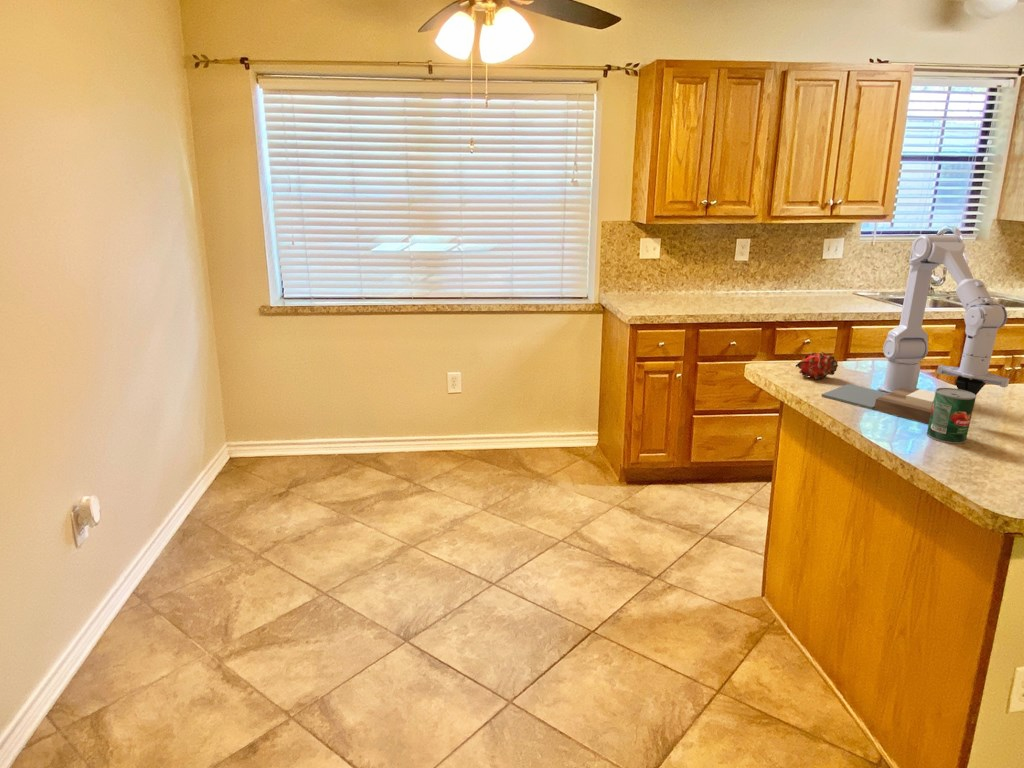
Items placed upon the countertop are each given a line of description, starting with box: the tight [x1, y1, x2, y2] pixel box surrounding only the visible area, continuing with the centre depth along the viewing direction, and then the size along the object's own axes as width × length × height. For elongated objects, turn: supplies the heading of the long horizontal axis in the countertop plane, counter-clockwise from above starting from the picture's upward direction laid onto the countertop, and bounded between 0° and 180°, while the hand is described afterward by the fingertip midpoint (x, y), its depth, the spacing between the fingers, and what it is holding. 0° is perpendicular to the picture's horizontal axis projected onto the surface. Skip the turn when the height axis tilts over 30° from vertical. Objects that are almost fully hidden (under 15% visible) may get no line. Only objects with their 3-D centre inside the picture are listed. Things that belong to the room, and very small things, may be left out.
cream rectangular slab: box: [905, 388, 936, 409], centre depth 171 cm, size 9×6×2 cm, turn 130°
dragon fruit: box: [795, 351, 839, 380], centre depth 201 cm, size 8×8×12 cm
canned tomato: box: [926, 387, 977, 445], centre depth 155 cm, size 8×8×11 cm
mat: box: [821, 383, 889, 410], centre depth 184 cm, size 16×14×1 cm
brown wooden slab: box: [873, 388, 932, 425], centre depth 174 cm, size 16×14×3 cm
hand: (964, 408), depth 164 cm, fingers closed
